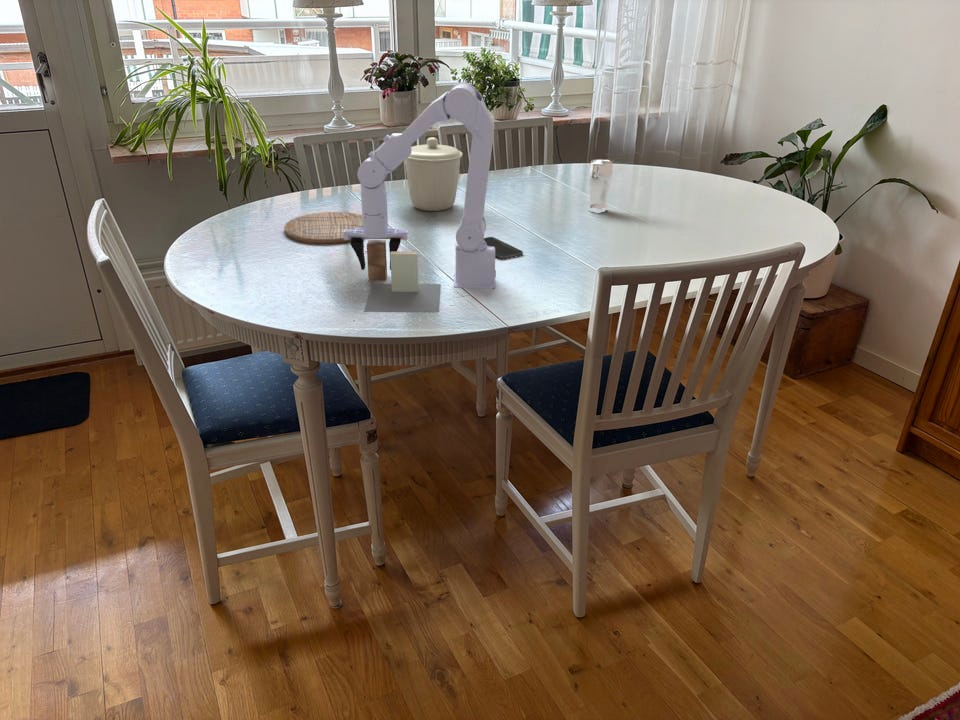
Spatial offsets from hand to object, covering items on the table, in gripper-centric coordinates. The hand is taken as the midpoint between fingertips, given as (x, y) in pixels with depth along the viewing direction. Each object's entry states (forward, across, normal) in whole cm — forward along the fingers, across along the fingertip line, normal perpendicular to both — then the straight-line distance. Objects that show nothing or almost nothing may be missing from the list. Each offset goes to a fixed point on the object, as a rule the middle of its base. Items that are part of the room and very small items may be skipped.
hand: (377, 268), depth 174 cm
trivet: (+3, +17, -37) cm, 41 cm away
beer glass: (+3, -62, -59) cm, 86 cm away
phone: (+3, -29, -22) cm, 37 cm away
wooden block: (+3, 0, 0) cm, 3 cm away
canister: (+3, -11, -61) cm, 62 cm away
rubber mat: (+3, -7, +12) cm, 14 cm away
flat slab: (+2, -7, +8) cm, 11 cm away
